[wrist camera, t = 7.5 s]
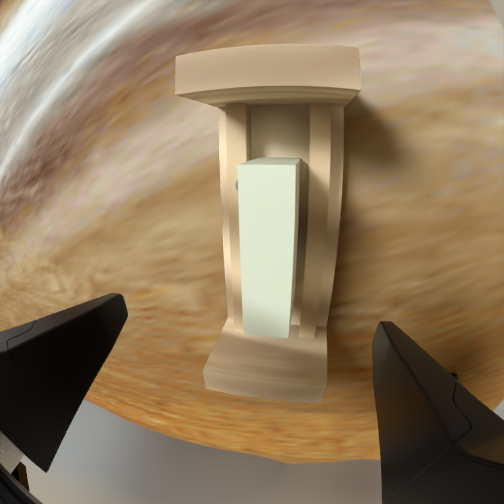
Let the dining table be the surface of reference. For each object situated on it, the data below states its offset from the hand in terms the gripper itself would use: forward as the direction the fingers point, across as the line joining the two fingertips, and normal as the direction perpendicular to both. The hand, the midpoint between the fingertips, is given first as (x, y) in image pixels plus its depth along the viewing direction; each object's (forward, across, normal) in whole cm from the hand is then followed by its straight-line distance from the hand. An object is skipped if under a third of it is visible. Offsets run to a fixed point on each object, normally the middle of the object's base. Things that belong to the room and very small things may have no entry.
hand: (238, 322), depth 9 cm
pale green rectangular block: (+11, 0, 0) cm, 11 cm away
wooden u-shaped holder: (+12, 0, 0) cm, 12 cm away
